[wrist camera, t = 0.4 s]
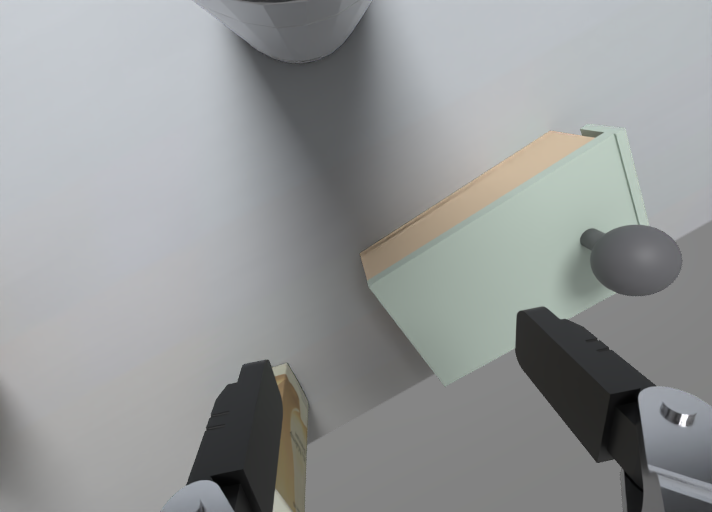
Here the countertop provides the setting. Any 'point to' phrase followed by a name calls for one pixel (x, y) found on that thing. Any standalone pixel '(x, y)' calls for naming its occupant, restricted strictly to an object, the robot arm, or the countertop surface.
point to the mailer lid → (530, 258)
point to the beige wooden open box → (470, 199)
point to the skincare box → (291, 444)
